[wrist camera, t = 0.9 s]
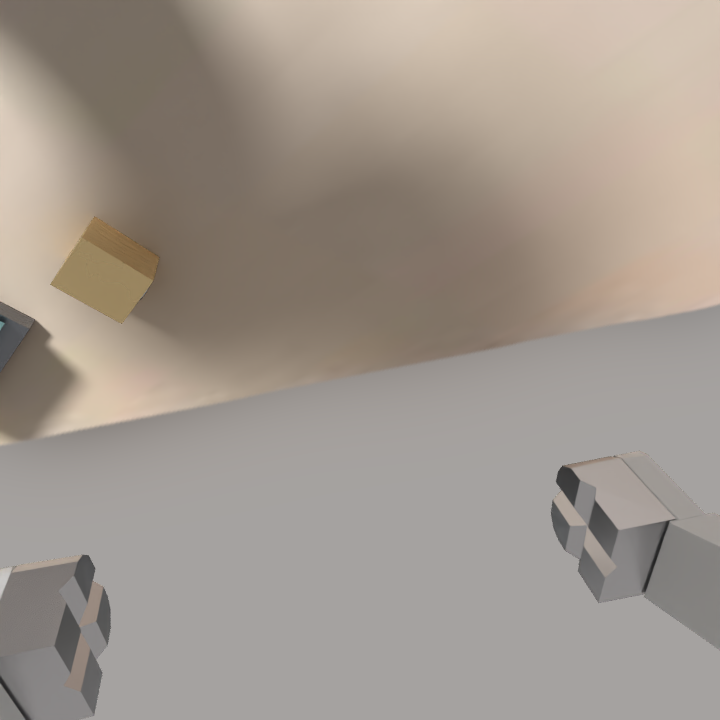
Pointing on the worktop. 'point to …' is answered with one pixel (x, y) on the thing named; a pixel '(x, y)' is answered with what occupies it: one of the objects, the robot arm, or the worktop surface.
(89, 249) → the tan short block
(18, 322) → the press bed
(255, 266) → the worktop surface
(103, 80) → the worktop surface
